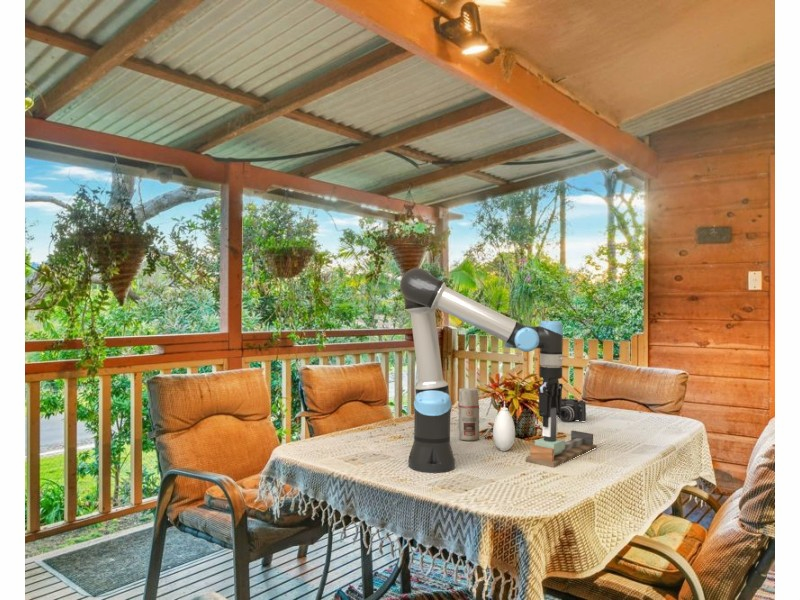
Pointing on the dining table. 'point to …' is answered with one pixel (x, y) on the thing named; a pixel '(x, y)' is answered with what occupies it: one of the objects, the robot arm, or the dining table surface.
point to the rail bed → (563, 456)
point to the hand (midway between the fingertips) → (549, 434)
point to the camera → (572, 410)
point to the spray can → (468, 414)
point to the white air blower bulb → (504, 430)
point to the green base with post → (552, 436)
